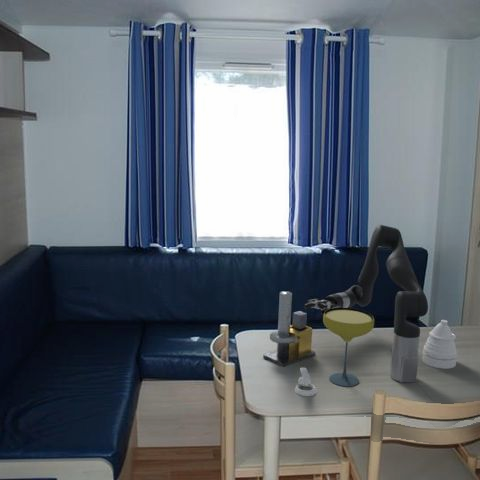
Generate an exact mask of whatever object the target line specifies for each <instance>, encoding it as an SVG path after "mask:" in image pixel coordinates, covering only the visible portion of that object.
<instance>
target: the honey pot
mask: <svg viewBox="0 0 480 480" xmlns="http://www.w3.org/2000/svg"><path fill="white" fill-rule="evenodd" d="M428 334H429V336H428V338H427V339H426V342H425V344H424V345H423V348H422V358H421V360H422V362H423V363H424V364H426V365H427V366H430V367H433V368H437V369H453V368H455V367H456V366H457V359H458V358H457V357H458V350H457V347H456V343H455V340H456V335H455V334H454V333H453V332H452V330H451V329H450V326H449V325H448V320H446V319H441V320H440V322H439V323H437V325H436V326H434V328H433V329H432V330H431V331H429V332H428Z"/></svg>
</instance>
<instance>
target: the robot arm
mask: <svg viewBox="0 0 480 480" xmlns="http://www.w3.org/2000/svg"><path fill="white" fill-rule="evenodd" d="M404 245H405V244H404V241H403V236H402V233H401V231H400V230H399V229H398V228H396V227H393V226H388V225H383V224H378V225H377V226H376V227H375V228H374V230H373V232H372V234H371V238H370V243H369V246H368V250H367V253H366V257H365V262H364V264H363V267H362V270H361V272H360V274H359V276H358V279H357V282H358V284H354V285H352V286H351V287H350V288H348V289H347V290H345V291H343V292H337V293H334V294H330V295H327V296H326V297H325V298H324V299H321V300H319V298H313V299H308V300H307V303H305V304H304V308H303V309H304V310H309V309H316V310H320V315H322V316H323V315H324V312H325V311H326V310H329V309H332V308H352V307H353V306H355V305H356V304H357V305H358V306H360V307H364V308H365V307H366V306H368V305H369V304H370V303H371V301H372V298H373V289H374V284H375V283H376V282H375V281H376V279H377V277H378V276H379V270H380V268H379V262H378V258H377V251H378V248H385V249H388V250H390V251H391V252H392V253H391V254H390V255H389V256H388V258H387V259H386V263H385V266H386V269H387V272H388V275H389V278H390V279H391V280H392V282H394V284H396V285H397V286H399V287H400V288H402V289H403V290H402V291H401V290H399V291H398V292H397V293H396V296H395V297H394V299H395V300H394V320H393V336H392V347H391V348H392V349H391V360H390V369H389V377H390V378H391V379H393V380H395V381H398V382H400V383H403V384H405V383H414V382H415V383H416V382H417V377H418V366H419V357H418V355H419V347H420V346H419V345H420V335H421V328H420V326H418V325H417V324H415V323H412V322H410V321H408V320H407V318H413V317H414V318H420V317H424V316H426V315H427V313H428V311H429V304H428V299H427V296H426V293H425V292H424V290H423V288H422V287H421V285H420V284H419V281H418V279H417V276H416V274H415V271H414V269H413V267H412V263H411V261H410V259H409V256H408V254H407V252H406V249H405V246H404Z"/></svg>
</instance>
